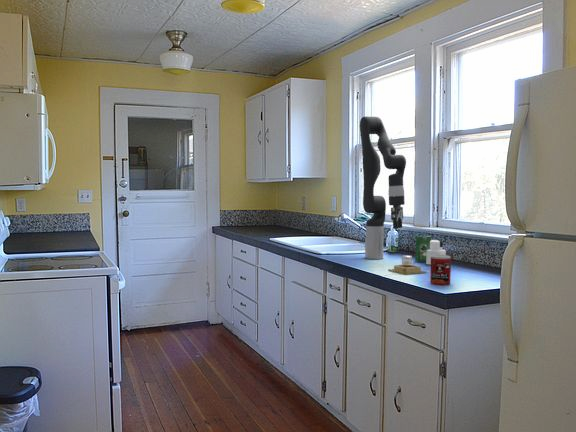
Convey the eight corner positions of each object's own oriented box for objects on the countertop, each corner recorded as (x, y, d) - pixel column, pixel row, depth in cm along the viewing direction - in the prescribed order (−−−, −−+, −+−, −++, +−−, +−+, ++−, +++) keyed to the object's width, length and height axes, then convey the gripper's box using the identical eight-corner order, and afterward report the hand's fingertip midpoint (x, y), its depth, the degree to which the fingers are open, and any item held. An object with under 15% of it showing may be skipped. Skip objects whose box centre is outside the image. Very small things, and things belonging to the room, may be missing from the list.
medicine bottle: (432, 262, 265) (432, 239, 265) (445, 264, 261) (446, 240, 260) (425, 264, 260) (426, 240, 259) (439, 265, 255) (440, 241, 255)
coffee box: (426, 260, 273) (427, 235, 272) (430, 261, 270) (431, 235, 269) (414, 261, 269) (415, 236, 268) (418, 262, 266) (419, 236, 266)
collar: (388, 270, 240) (388, 265, 240) (409, 269, 245) (409, 263, 245) (404, 274, 229) (404, 269, 229) (426, 273, 234) (426, 267, 234)
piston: (399, 266, 252) (399, 255, 252) (407, 266, 254) (408, 255, 254) (405, 268, 247) (405, 257, 247) (414, 267, 249) (414, 256, 249)
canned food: (429, 284, 207) (429, 256, 207) (431, 281, 215) (431, 254, 214) (449, 286, 205) (450, 257, 204) (451, 282, 212) (451, 255, 212)
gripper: (392, 195, 267) (393, 227, 267) (385, 195, 254) (386, 229, 254) (407, 195, 264) (408, 227, 264) (400, 194, 251) (401, 228, 251)
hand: (397, 228), depth 259 cm, fingers open, 8 cm apart
